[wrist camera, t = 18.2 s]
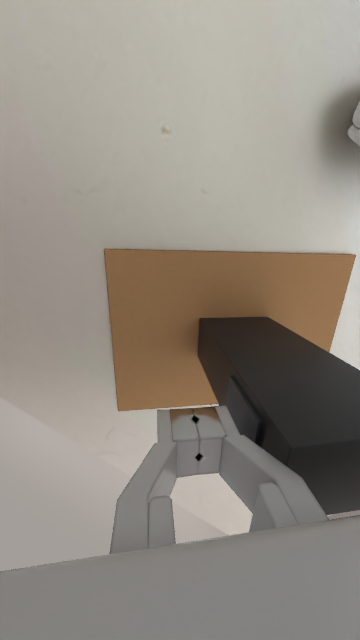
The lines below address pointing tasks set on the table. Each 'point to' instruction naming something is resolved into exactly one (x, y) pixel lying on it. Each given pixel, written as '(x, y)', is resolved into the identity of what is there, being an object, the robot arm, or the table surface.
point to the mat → (208, 311)
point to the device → (289, 402)
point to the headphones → (355, 126)
